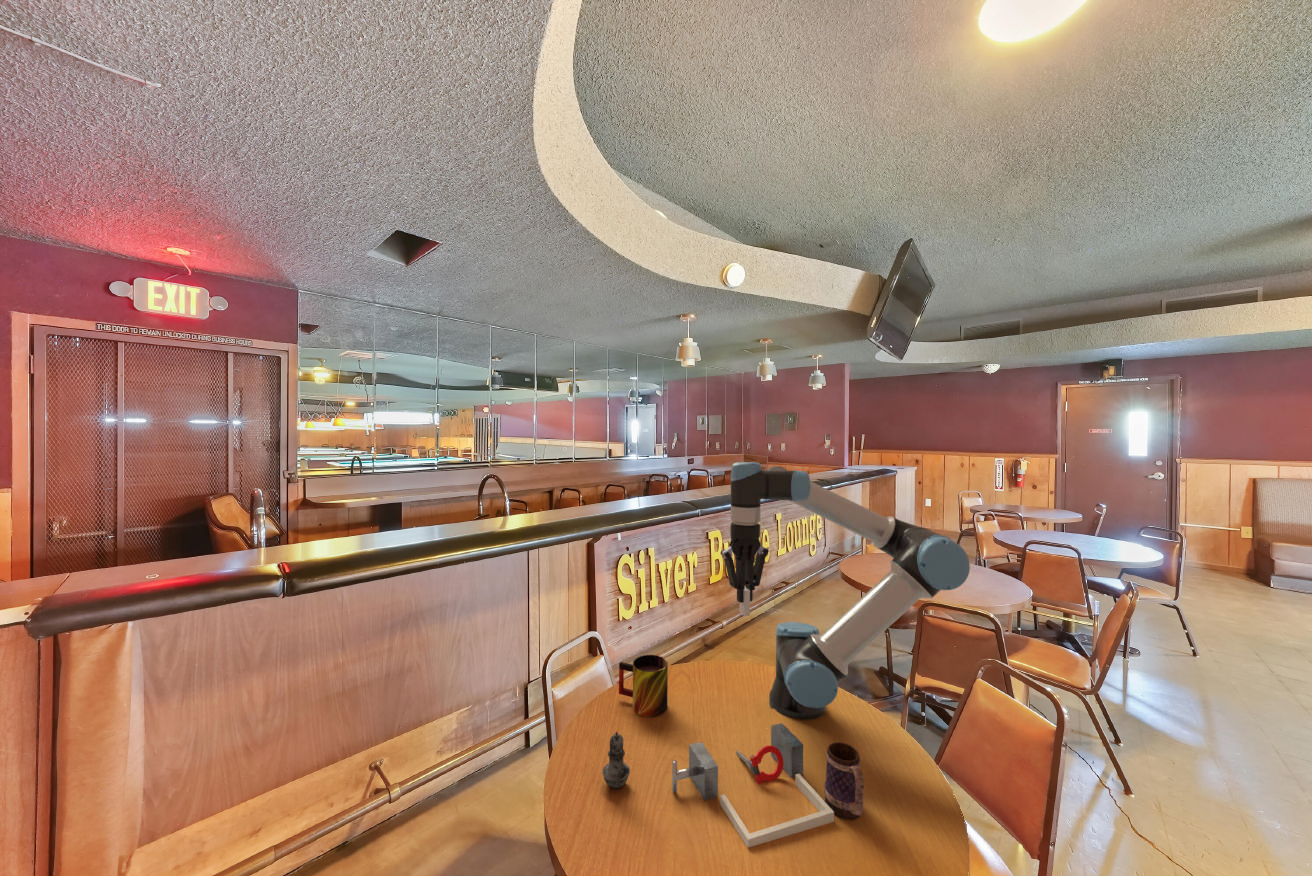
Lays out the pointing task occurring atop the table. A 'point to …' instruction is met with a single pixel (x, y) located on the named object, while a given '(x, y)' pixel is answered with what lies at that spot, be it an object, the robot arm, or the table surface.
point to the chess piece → (616, 763)
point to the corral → (788, 827)
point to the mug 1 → (647, 684)
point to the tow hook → (757, 759)
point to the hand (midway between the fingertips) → (744, 614)
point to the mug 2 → (844, 781)
